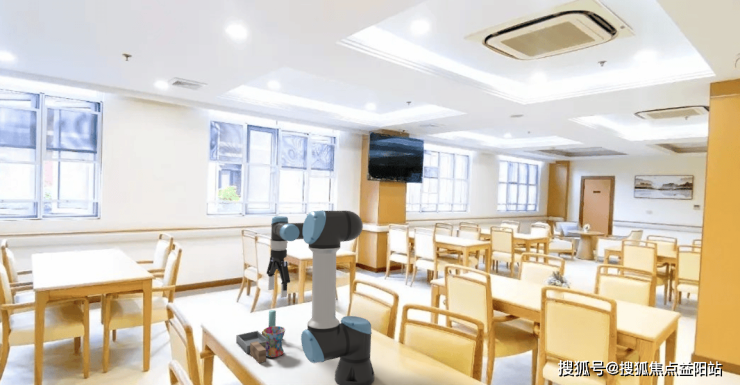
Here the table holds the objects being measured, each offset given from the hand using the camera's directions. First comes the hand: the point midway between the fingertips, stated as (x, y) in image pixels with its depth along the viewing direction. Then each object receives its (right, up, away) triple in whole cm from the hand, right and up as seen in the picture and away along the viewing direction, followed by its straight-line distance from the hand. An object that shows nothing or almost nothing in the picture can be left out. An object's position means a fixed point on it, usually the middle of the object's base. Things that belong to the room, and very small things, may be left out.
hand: (277, 293), depth 182 cm
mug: (+3, -22, -15) cm, 27 cm away
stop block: (-3, -22, -20) cm, 30 cm away
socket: (-3, -22, 0) cm, 22 cm away
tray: (-9, -22, -9) cm, 25 cm away
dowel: (-3, -22, 0) cm, 22 cm away
